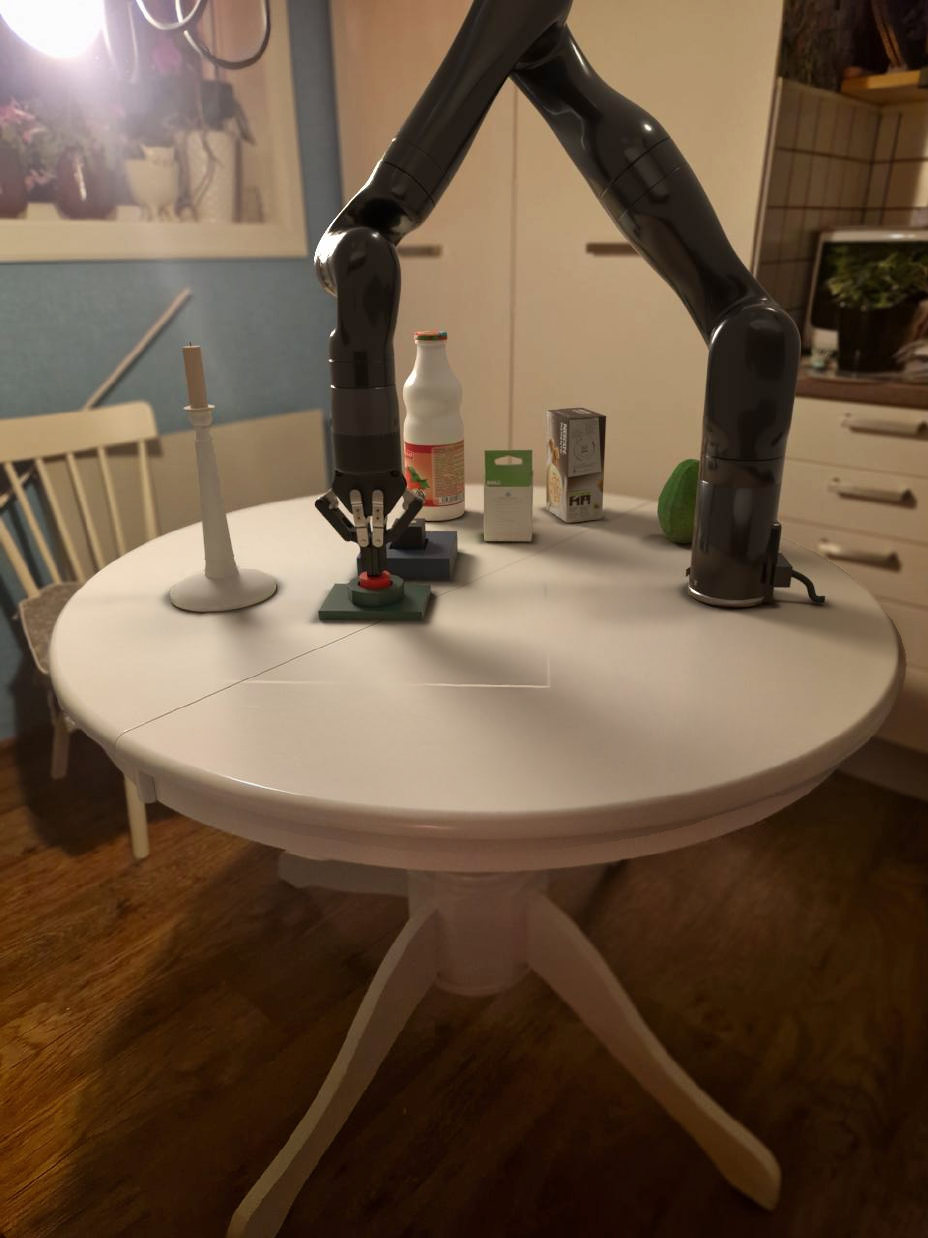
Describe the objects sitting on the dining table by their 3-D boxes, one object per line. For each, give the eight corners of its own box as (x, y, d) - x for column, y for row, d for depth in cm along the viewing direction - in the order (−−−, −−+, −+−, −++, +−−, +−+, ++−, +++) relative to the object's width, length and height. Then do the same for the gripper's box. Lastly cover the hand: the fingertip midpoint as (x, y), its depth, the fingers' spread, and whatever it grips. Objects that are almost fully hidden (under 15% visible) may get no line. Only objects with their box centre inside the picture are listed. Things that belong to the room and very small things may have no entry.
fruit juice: (464, 521, 135) (461, 334, 124) (404, 522, 135) (395, 334, 125) (466, 505, 144) (463, 328, 133) (409, 506, 144) (402, 329, 133)
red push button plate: (430, 593, 107) (430, 570, 106) (422, 621, 98) (421, 597, 97) (335, 592, 108) (333, 569, 106) (318, 620, 99) (316, 596, 98)
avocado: (722, 545, 122) (731, 460, 118) (678, 553, 119) (685, 467, 114) (686, 530, 129) (693, 450, 124) (643, 538, 126) (648, 456, 121)
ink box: (532, 534, 128) (533, 444, 123) (531, 542, 125) (533, 450, 119) (485, 534, 129) (485, 444, 124) (483, 542, 125) (482, 450, 120)
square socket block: (457, 551, 122) (457, 530, 121) (450, 580, 111) (449, 558, 110) (373, 550, 123) (372, 530, 121) (357, 579, 112) (356, 557, 110)
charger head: (426, 560, 118) (425, 517, 116) (423, 570, 115) (421, 525, 112) (397, 560, 119) (395, 517, 116) (393, 569, 115) (391, 525, 113)
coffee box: (604, 519, 135) (608, 415, 128) (566, 524, 133) (569, 418, 127) (579, 505, 143) (582, 406, 137) (543, 508, 141) (545, 409, 135)
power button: (393, 583, 104) (392, 569, 103) (388, 594, 100) (387, 580, 100) (363, 583, 104) (362, 569, 103) (358, 594, 101) (357, 580, 100)
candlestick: (223, 619, 100) (186, 349, 88) (148, 599, 106) (104, 345, 95) (297, 585, 110) (272, 338, 98) (225, 569, 116) (194, 335, 105)
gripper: (429, 420, 98) (433, 564, 105) (314, 420, 99) (326, 563, 106) (421, 432, 91) (426, 586, 98) (298, 432, 92) (311, 585, 99)
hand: (374, 574), depth 102 cm, fingers closed
